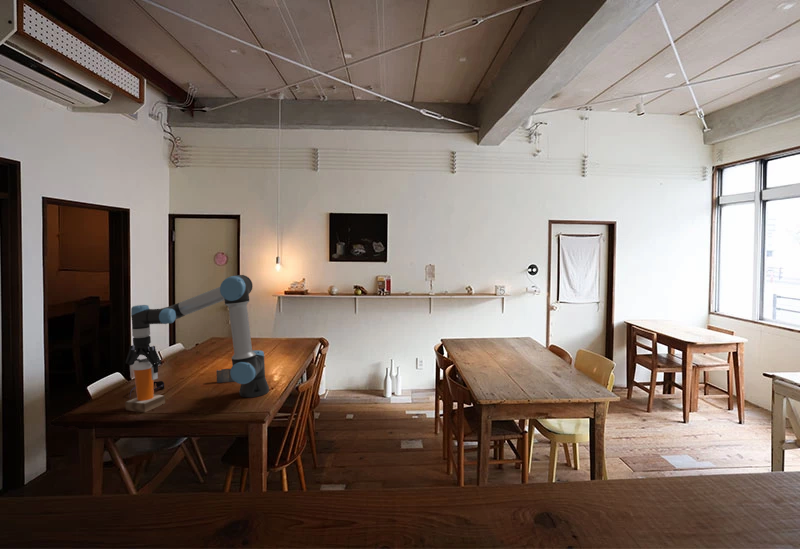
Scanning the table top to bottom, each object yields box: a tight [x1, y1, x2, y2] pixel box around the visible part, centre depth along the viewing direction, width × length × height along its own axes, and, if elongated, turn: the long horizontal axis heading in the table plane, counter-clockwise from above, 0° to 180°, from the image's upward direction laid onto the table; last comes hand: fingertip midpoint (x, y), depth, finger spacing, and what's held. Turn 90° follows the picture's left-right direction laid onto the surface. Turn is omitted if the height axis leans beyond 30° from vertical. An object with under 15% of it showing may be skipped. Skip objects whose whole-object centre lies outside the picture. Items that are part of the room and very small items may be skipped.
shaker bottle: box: [133, 357, 155, 401], centre depth 208 cm, size 9×9×20 cm
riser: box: [124, 394, 166, 413], centre depth 209 cm, size 12×12×4 cm
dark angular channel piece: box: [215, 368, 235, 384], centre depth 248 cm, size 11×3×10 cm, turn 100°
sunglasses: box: [129, 380, 165, 398], centre depth 230 cm, size 14×16×5 cm
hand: (144, 378), depth 209 cm, fingers open, 13 cm apart
